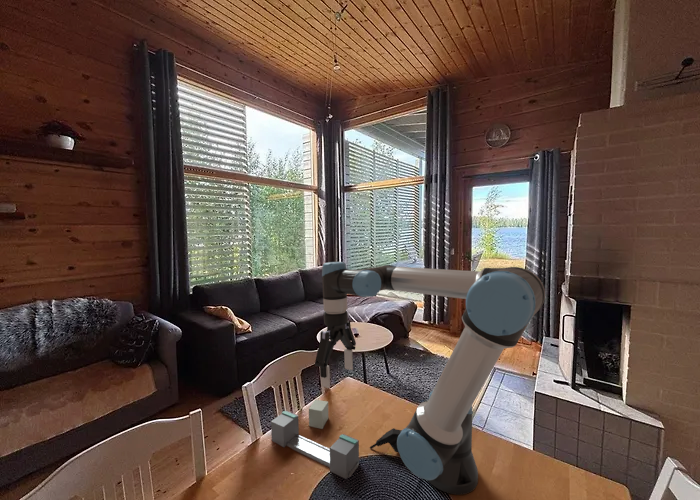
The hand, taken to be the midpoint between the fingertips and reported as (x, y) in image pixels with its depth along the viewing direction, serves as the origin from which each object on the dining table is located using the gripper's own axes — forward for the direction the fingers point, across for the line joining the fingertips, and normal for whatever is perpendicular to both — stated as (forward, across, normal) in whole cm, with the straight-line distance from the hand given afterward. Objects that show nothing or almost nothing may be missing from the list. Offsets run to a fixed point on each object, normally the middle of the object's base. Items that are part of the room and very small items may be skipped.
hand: (337, 377), depth 97 cm
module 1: (+22, +6, -18) cm, 29 cm away
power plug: (+25, -4, +10) cm, 27 cm away
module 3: (+23, +7, +6) cm, 24 cm away
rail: (+22, +6, -6) cm, 24 cm away
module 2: (+22, -6, -13) cm, 26 cm away
